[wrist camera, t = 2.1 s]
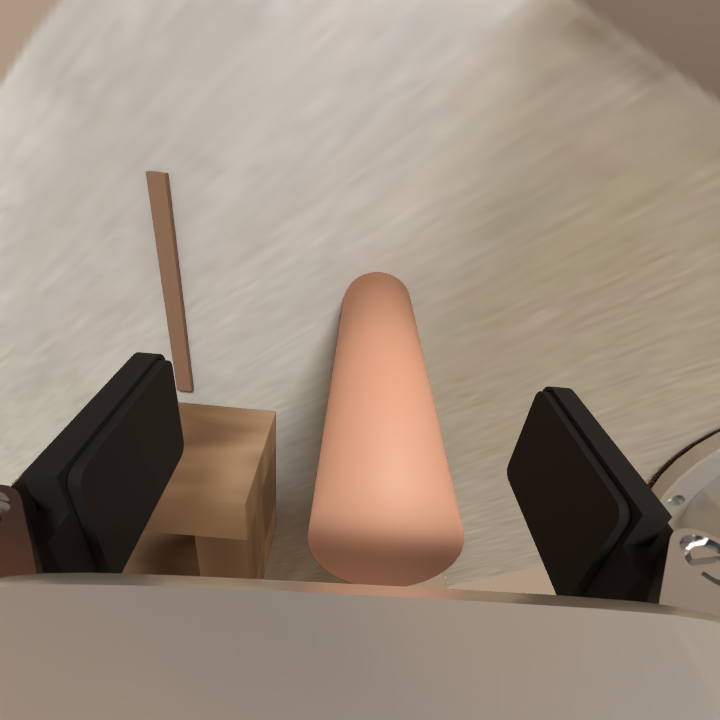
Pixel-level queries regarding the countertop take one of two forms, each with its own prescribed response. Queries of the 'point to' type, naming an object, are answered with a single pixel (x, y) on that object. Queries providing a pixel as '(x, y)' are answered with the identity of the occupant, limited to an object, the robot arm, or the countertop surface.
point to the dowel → (382, 450)
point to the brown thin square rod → (170, 276)
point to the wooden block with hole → (215, 499)
